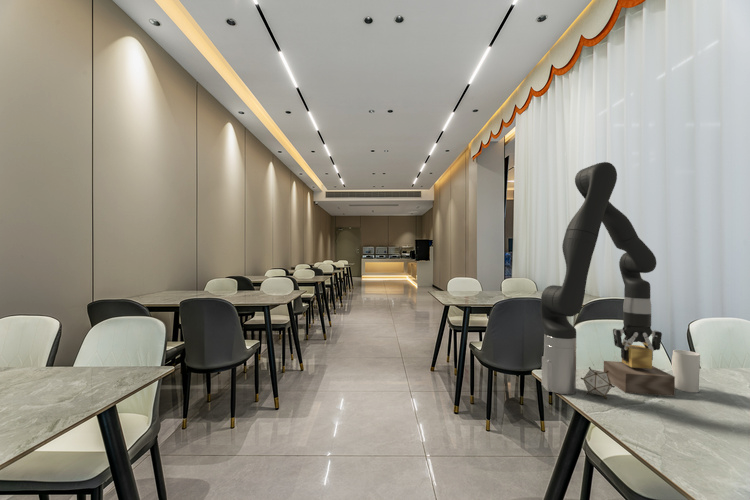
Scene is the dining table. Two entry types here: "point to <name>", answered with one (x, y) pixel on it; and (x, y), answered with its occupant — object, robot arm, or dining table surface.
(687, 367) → the mug
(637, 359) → the ochre block
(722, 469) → the dining table surface
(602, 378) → the game die
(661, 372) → the riser
